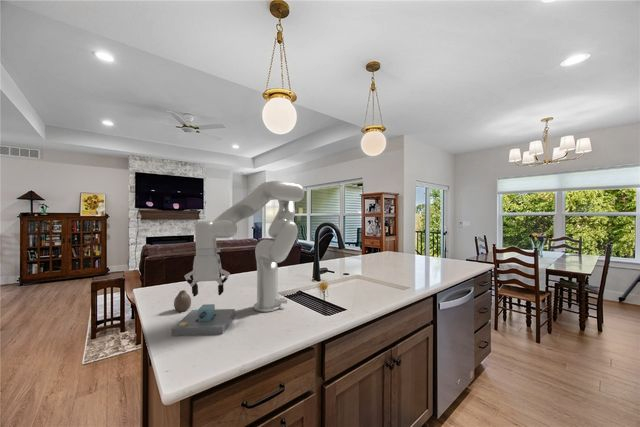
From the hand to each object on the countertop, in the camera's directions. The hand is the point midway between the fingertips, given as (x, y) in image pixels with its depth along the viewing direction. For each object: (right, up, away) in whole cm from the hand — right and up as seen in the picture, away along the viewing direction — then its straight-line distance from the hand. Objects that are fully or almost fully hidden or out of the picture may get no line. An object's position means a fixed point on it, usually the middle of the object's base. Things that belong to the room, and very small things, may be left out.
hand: (208, 294), depth 104 cm
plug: (0, -12, -2) cm, 12 cm away
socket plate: (-1, -12, 0) cm, 12 cm away
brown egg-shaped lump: (-18, -12, +14) cm, 26 cm away
